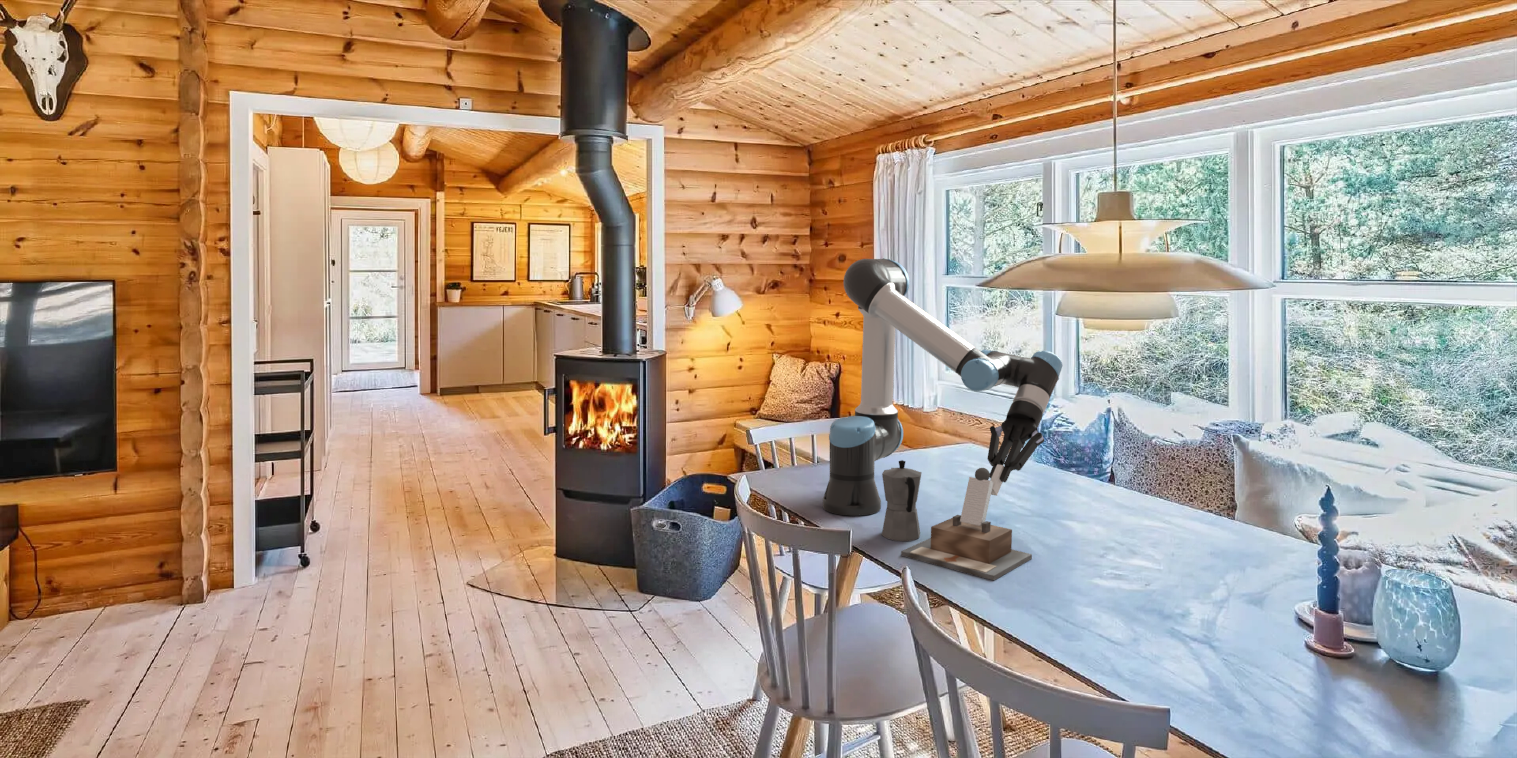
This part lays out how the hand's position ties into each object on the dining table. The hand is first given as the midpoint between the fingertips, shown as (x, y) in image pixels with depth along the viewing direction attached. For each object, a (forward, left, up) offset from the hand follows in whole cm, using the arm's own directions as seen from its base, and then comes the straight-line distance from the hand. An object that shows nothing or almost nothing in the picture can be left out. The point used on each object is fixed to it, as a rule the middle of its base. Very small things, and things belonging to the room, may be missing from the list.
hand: (991, 491), depth 185 cm
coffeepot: (-18, -8, -13) cm, 24 cm away
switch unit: (0, -10, -12) cm, 16 cm away
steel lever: (0, -8, -6) cm, 10 cm away
